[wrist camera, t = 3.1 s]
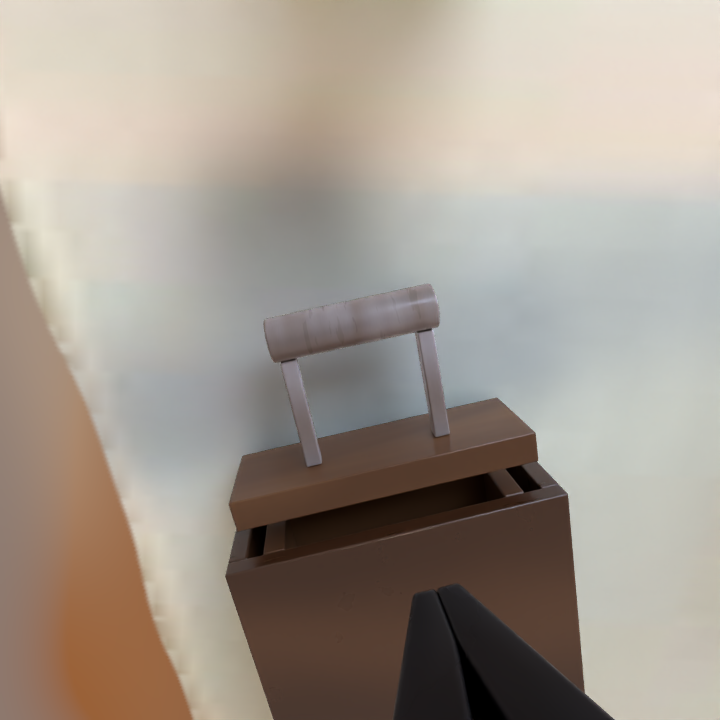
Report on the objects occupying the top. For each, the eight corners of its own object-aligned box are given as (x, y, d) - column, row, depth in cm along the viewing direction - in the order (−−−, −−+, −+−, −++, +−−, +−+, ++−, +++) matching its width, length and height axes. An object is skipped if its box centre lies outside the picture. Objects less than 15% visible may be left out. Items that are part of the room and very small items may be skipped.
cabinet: (244, 492, 22) (224, 576, 17) (508, 431, 22) (568, 493, 17) (322, 749, 26) (326, 877, 21) (539, 694, 27) (594, 805, 22)
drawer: (202, 323, 19) (177, 346, 15) (480, 263, 19) (520, 272, 16) (321, 720, 25) (323, 802, 21) (530, 666, 25) (567, 738, 22)
